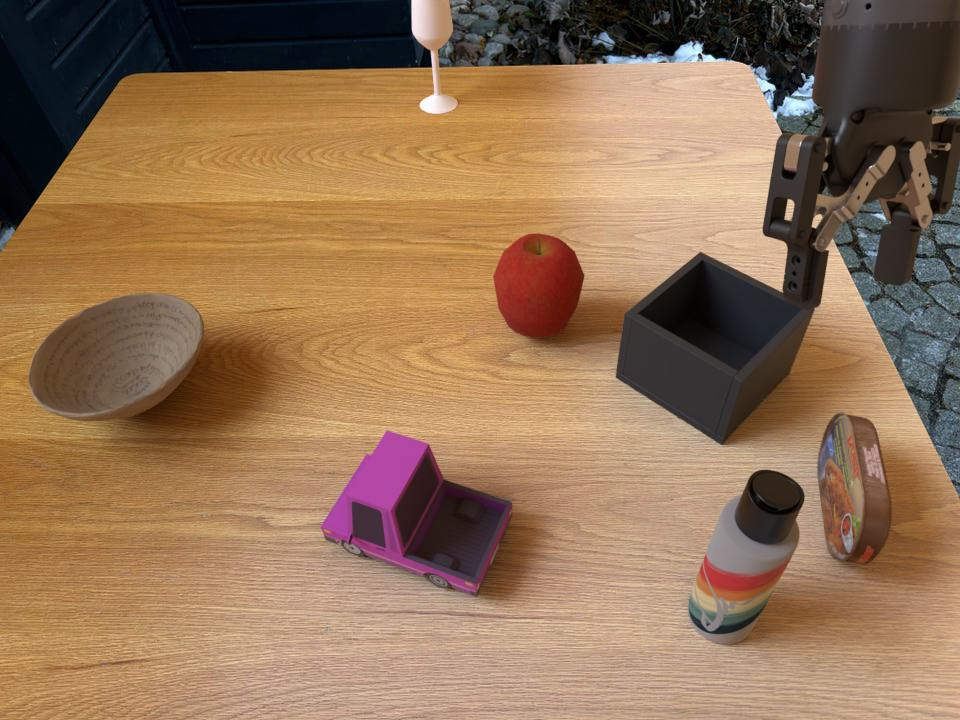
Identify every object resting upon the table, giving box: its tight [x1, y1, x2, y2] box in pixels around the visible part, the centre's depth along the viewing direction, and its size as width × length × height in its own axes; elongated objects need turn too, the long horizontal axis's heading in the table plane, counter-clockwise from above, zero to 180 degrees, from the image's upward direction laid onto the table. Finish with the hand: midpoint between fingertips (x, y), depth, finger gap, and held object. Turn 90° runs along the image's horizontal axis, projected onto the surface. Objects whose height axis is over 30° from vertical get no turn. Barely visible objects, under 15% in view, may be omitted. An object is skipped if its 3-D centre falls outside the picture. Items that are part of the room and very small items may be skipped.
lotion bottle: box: [687, 469, 806, 645], centre depth 58 cm, size 6×6×20 cm
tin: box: [816, 412, 893, 565], centre depth 69 cm, size 15×3×8 cm, turn 168°
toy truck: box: [320, 430, 513, 598], centre depth 69 cm, size 11×16×10 cm
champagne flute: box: [411, 0, 458, 115], centre depth 122 cm, size 7×7×24 cm
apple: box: [492, 232, 585, 339], centre depth 86 cm, size 10×10×14 cm
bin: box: [615, 251, 816, 445], centre depth 81 cm, size 14×14×10 cm
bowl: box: [27, 292, 205, 422], centre depth 83 cm, size 18×18×8 cm
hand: (847, 293), depth 48 cm, fingers open, 8 cm apart
